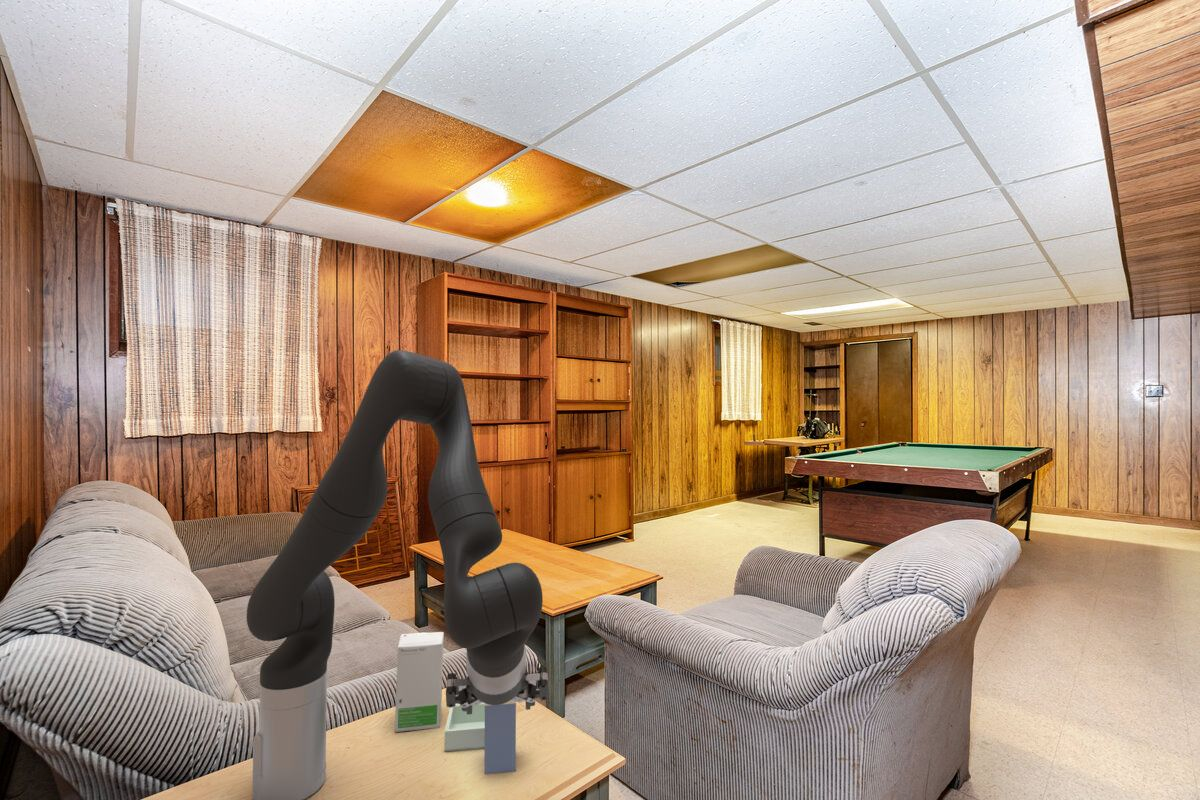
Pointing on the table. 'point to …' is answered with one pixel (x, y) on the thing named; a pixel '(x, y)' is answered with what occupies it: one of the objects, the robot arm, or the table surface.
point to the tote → (465, 729)
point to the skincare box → (419, 681)
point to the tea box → (500, 738)
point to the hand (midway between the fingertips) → (499, 704)
